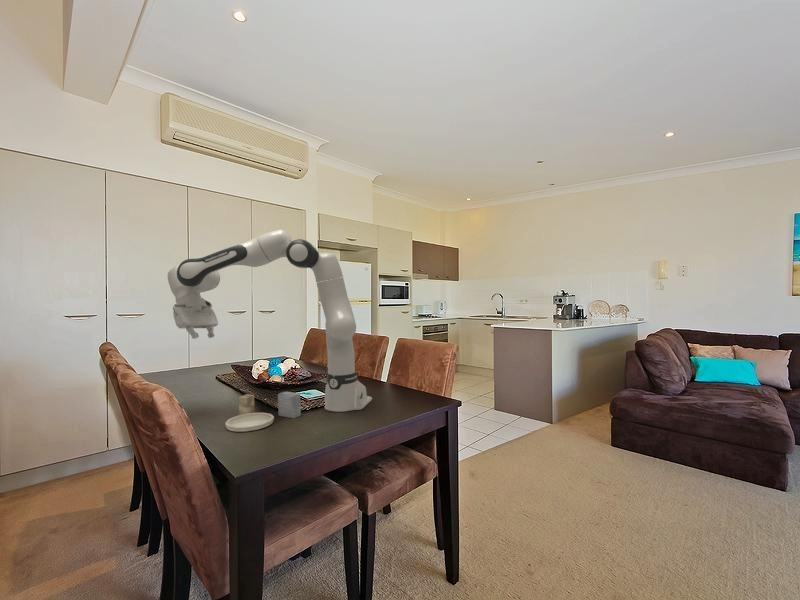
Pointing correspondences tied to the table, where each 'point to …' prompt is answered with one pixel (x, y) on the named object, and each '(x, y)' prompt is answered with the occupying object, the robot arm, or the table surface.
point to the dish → (249, 422)
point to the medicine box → (289, 404)
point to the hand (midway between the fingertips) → (204, 337)
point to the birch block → (246, 404)
